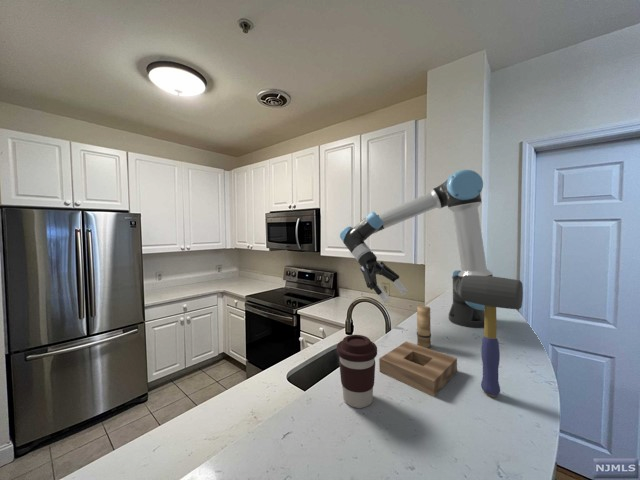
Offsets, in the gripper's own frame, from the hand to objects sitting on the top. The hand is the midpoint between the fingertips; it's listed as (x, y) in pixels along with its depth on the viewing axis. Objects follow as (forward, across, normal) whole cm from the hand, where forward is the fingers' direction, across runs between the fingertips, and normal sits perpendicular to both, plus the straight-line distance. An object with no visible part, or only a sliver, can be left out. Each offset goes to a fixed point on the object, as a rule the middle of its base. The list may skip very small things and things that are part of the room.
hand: (396, 297), depth 97 cm
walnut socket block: (+23, +17, 0) cm, 29 cm away
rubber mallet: (+36, +14, +13) cm, 40 cm away
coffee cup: (+20, +39, -3) cm, 44 cm away
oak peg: (+19, 0, -4) cm, 19 cm away
